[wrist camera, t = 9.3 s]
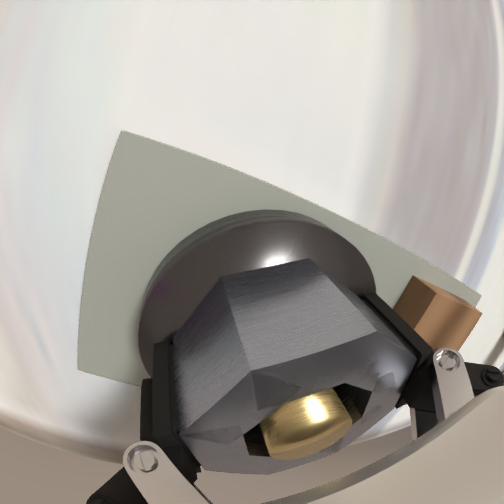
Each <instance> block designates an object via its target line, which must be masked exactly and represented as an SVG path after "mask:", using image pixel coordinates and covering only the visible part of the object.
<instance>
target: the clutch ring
mask: <svg viewBox="0 0 504 504" xmlns="http://www.w3.org/2000/svg"><path fill="white" fill-rule="evenodd" d="M173 359H174V379H175V394H176V407H177V418H178V430H179V435H180V437H181V438H182V440H183V441H184V443H185V444H186V445H187V447H188V448H189V450H190V451H191V452H192V454H193V455H194V456H195V458H196V459H197V460H198V462H199V463H200V464H201V465H202V467H203V468H204V469H205V470H209V471H218V472H228V473H243V474H272V473H276V472H279V471H283V470H286V469H290V468H293V467H297V466H300V465H303V464H306V463H309V462H311V461H315V460H317V459H320V458H323V457H325V456H328V455H331V454H333V453H336V452H338V451H340V450H341V449H342V448H344V447H345V446H347V445H348V444H350V443H351V442H352V441H354V440H355V439H356V438H358V437H359V436H361V435H362V434H363V433H364V432H366V431H367V430H368V429H370V428H371V427H372V426H373V425H375V424H376V423H377V422H378V421H380V420H381V419H382V418H383V417H384V416H386V415H387V414H388V413H389V412H390V411H391V410H393V409H394V407H395V405H396V403H397V401H398V399H399V397H400V395H401V393H402V391H403V389H404V387H405V385H406V382H407V380H408V378H409V376H410V374H411V371H412V369H413V367H414V365H415V362H416V360H417V358H416V357H415V356H414V355H413V354H412V353H411V352H410V351H409V349H408V348H407V347H406V346H405V345H404V344H403V343H402V342H401V341H400V340H399V339H398V338H397V337H396V336H395V334H394V333H393V332H392V331H391V330H390V329H389V328H388V327H387V326H386V325H385V324H384V323H383V322H382V321H381V320H380V319H379V318H378V317H377V316H376V314H375V313H374V312H373V311H372V310H371V309H370V308H369V307H368V306H367V305H366V304H365V303H364V302H363V301H362V300H361V299H360V298H359V297H358V296H357V295H356V294H355V293H353V292H352V291H351V290H350V289H348V288H347V287H346V286H345V285H343V284H342V283H341V282H339V281H338V280H337V279H336V278H334V277H333V276H332V275H331V274H329V273H328V272H327V271H325V270H324V269H323V268H321V267H320V266H319V265H318V264H316V263H315V262H314V261H312V260H311V259H310V258H307V259H302V260H297V261H293V262H288V263H283V264H278V265H274V266H269V267H264V268H259V269H254V270H249V271H244V272H240V273H235V274H230V275H225V276H221V277H220V278H219V280H218V281H217V282H216V283H215V285H214V286H213V287H212V288H211V290H210V291H209V292H208V294H207V295H206V296H205V297H204V299H203V300H202V301H201V302H200V304H199V305H198V306H197V308H196V309H195V310H194V311H193V313H192V314H191V315H190V316H189V318H188V319H187V320H186V322H185V323H184V324H183V325H182V327H181V328H180V329H179V331H178V332H177V333H176V334H175V336H174V337H173ZM332 387H333V389H334V390H335V392H336V394H337V395H338V397H339V399H340V400H341V402H342V404H343V405H344V407H345V409H346V410H347V412H348V414H349V415H350V417H351V419H352V426H351V428H350V429H349V431H348V432H347V433H346V434H345V435H344V436H343V437H342V438H340V439H339V440H338V441H337V442H335V443H334V444H332V445H330V446H329V447H327V448H325V449H323V450H321V451H319V452H317V453H314V454H311V455H309V456H306V457H302V458H298V459H292V460H277V459H274V458H272V457H271V456H270V454H269V451H268V449H267V446H266V443H265V440H264V437H263V434H262V431H261V428H260V425H259V423H260V422H261V421H262V420H264V419H265V418H266V417H267V416H269V415H270V414H271V413H272V412H274V411H275V410H276V409H277V408H279V407H280V406H281V405H282V404H284V403H287V402H290V401H293V400H296V399H300V398H303V397H306V396H309V395H312V394H315V393H318V392H321V391H324V390H327V389H329V388H332Z"/></svg>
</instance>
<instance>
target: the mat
mask: <svg viewBox="0 0 504 504" xmlns="http://www.w3.org/2000/svg"><path fill="white" fill-rule="evenodd" d="M263 209H269V210H285V211H291V212H296V213H300V214H303V215H306V216H309V217H312V218H314V219H316V220H318V221H319V222H321V223H323V224H325V225H327V226H328V227H329V228H331V229H332V230H334V231H335V232H336V233H338V234H339V235H341V236H342V237H344V238H345V239H346V240H347V241H349V242H350V243H351V244H352V245H354V246H355V247H356V248H357V249H358V250H359V252H360V253H361V254H362V255H363V256H364V258H365V259H366V261H367V263H368V264H369V266H370V268H371V271H372V274H373V276H374V280H375V285H376V294H377V295H378V296H379V297H380V298H381V299H382V300H383V301H384V302H386V303H387V304H388V305H389V306H390V307H391V308H392V309H393V308H394V306H395V304H396V303H397V301H398V300H399V298H400V296H401V295H402V293H403V291H404V289H405V288H406V286H407V284H408V283H409V281H410V279H411V277H412V275H414V276H416V277H418V278H420V279H422V280H424V281H427V282H429V283H431V284H433V285H435V286H437V287H439V288H441V289H443V290H445V291H448V292H450V293H452V294H454V295H456V296H458V297H460V298H462V299H464V300H466V301H467V302H468V303H470V304H471V305H472V306H474V307H476V305H477V303H478V301H479V300H480V298H481V295H480V294H479V293H477V292H476V291H474V290H473V289H471V288H469V287H468V286H466V285H465V284H463V283H462V282H460V281H458V280H457V279H455V278H453V277H452V276H450V275H449V274H447V273H445V272H444V271H442V270H440V269H439V268H437V267H435V266H433V265H432V264H430V263H428V262H427V261H425V260H423V259H421V258H420V257H418V256H416V255H414V254H413V253H411V252H409V251H407V250H405V249H404V248H402V247H400V246H398V245H396V244H394V243H392V242H391V241H389V240H387V239H385V238H383V237H381V236H379V235H377V234H375V233H374V232H372V231H370V230H368V229H366V228H364V227H362V226H360V225H358V224H356V223H354V222H352V221H350V220H348V219H346V218H344V217H342V216H340V215H338V214H336V213H333V212H331V211H329V210H327V209H325V208H323V207H321V206H319V205H317V204H314V203H312V202H310V201H308V200H306V199H303V198H301V197H299V196H297V195H295V194H292V193H290V192H288V191H285V190H283V189H281V188H279V187H276V186H274V185H272V184H269V183H267V182H264V181H262V180H260V179H257V178H255V177H252V176H250V175H248V174H245V173H243V172H240V171H238V170H235V169H233V168H230V167H227V166H225V165H222V164H220V163H217V162H214V161H212V160H209V159H206V158H204V157H201V156H198V155H196V154H193V153H190V152H187V151H184V150H181V149H179V148H176V147H173V146H170V145H167V144H164V143H161V142H158V141H155V140H152V139H149V138H146V137H143V136H139V135H136V134H133V133H130V132H127V131H121V132H120V135H119V138H118V141H117V143H116V146H115V149H114V152H113V155H112V158H111V161H110V164H109V167H108V171H107V174H106V177H105V181H104V184H103V188H102V192H101V195H100V199H99V203H98V207H97V211H96V215H95V220H94V224H93V229H92V233H91V238H90V244H89V249H88V255H87V261H86V267H85V273H84V281H83V288H82V297H81V307H80V319H79V334H78V370H81V371H84V372H87V373H90V374H94V375H97V376H101V377H105V378H108V379H112V380H116V381H120V382H124V383H128V384H133V385H137V386H142V380H143V379H147V378H151V377H150V376H149V374H148V373H147V371H146V369H145V367H144V365H143V362H142V360H141V356H140V352H139V347H138V330H139V322H140V315H141V309H142V303H143V297H144V294H145V291H146V288H147V285H148V282H149V280H150V278H151V277H152V275H153V273H154V271H155V269H156V268H157V266H158V265H159V264H160V262H161V261H162V260H163V259H164V257H165V256H166V255H167V254H168V253H169V252H170V251H171V250H172V249H173V248H174V247H175V246H176V245H177V244H178V243H179V242H180V241H182V240H183V239H184V238H186V237H187V236H188V235H190V234H191V233H193V232H194V231H196V230H198V229H199V228H201V227H203V226H205V225H207V224H209V223H210V222H213V221H216V220H218V219H221V218H223V217H226V216H229V215H233V214H237V213H241V212H245V211H253V210H263Z"/></svg>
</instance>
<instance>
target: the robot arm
mask: <svg viewBox="0 0 504 504" xmlns="http://www.w3.org/2000/svg"><path fill="white" fill-rule="evenodd" d="M360 299H361V300H362V301H363V302H364V303H365V304H366V305H367V306H368V307H369V308H370V309H371V310H372V311H373V312H374V313H375V314H376V316H377V317H378V318H379V319H380V320H381V321H382V322H383V323H384V324H385V325H386V326H387V327H388V328H389V329H390V330H391V331H392V332H393V333H394V334H395V336H396V337H397V338H398V339H399V340H400V341H401V342H402V343H403V344H404V345H405V346H406V347H407V348H408V349H409V351H410V352H411V353H412V354H413V355H414V356H415V357H416V358H417V360H416V362H415V365H414V367H413V369H412V371H411V374H410V376H409V378H408V380H407V382H406V385H405V387H404V389H403V391H402V393H401V395H400V397H399V399H398V401H397V403H396V405H395V407H396V409H397V408H399V407H401V406H403V405H404V404H406V403H407V404H408V406H409V407H410V416H411V429H412V442H411V443H409V444H407V445H406V446H404V447H402V448H401V449H399V450H397V451H395V452H394V453H392V454H390V455H388V456H386V457H384V458H382V459H381V460H379V461H377V462H375V463H373V464H371V465H369V466H367V467H365V468H363V469H360V470H358V471H356V472H354V473H351V474H349V475H347V476H345V477H342V478H340V479H337V480H335V481H332V482H330V483H327V484H324V485H322V486H319V487H316V488H313V489H311V490H308V491H305V492H302V493H298V494H295V495H292V496H288V497H285V498H281V499H278V500H274V501H270V502H266V503H262V504H504V374H502V372H501V371H500V370H499V369H498V368H496V367H494V366H490V365H482V364H475V363H468V362H464V360H463V358H462V356H461V355H460V353H459V352H457V351H456V350H454V349H451V348H440V349H439V350H437V351H436V352H435V353H434V352H433V351H432V349H433V348H432V347H431V346H430V345H429V344H428V343H427V342H426V341H425V340H424V339H423V338H422V337H421V336H420V335H419V334H418V333H417V332H416V331H415V330H414V329H413V328H412V327H411V326H410V325H409V324H408V323H406V322H405V321H404V320H403V319H402V318H401V317H400V316H399V315H398V314H397V313H396V312H395V311H394V310H393V309H392V308H391V307H390V306H389V305H388V304H387V303H386V302H384V301H383V300H382V299H381V298H380V297H379V296H378V295H377V294H376V293H375V292H370V293H367V294H364V295H361V296H360ZM123 465H124V467H123V468H122V469H121V470H120V471H119V472H117V474H115V475H114V476H113V477H112V478H111V479H110V480H109V481H107V482H106V483H105V484H104V485H103V486H102V487H101V488H99V489H98V490H97V491H96V492H95V493H94V494H92V495H91V496H90V497H89V499H88V500H87V503H86V504H213V503H212V502H211V501H210V500H209V499H208V498H207V497H206V496H205V495H204V494H203V493H202V492H201V491H200V489H199V488H198V487H196V485H195V484H194V482H195V481H196V480H197V474H196V473H198V472H201V469H200V466H201V464H200V463H199V462H198V460H197V459H196V458H195V456H194V455H193V454H192V452H191V451H190V450H189V448H188V447H187V445H186V444H185V443H184V441H183V440H182V438H181V437H180V435H179V430H178V418H177V407H176V394H175V379H174V359H173V344H171V345H170V343H169V341H166V342H160V343H155V344H154V351H153V378H147V379H143V380H142V386H141V415H140V441H138V442H136V443H133V444H132V445H130V446H129V447H128V448H127V449H126V451H125V452H124V455H123Z"/></svg>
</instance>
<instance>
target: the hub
mask: <svg viewBox="0 0 504 504" xmlns="http://www.w3.org/2000/svg"><path fill="white" fill-rule="evenodd" d="M307 258H310V259H311V260H312V261H314V262H315V263H316V264H318V265H319V266H320V267H321V268H323V269H324V270H325V271H327V272H328V273H329V274H331V275H332V276H333V277H334V278H336V279H337V280H338V281H339V282H341V283H342V284H343V285H345V286H346V287H347V288H348V289H350V290H351V291H352V292H353V293H355V294H356V295H357V296H358V297H359V298H360V296H361V295H364V294H367V293H370V292H375V293H376V285H375V280H374V276H373V274H372V271H371V268H370V266H369V264H368V263H367V261H366V259H365V258H364V256H363V255H362V254H361V253H360V252H359V250H358V249H357V248H356V247H355V246H354V245H352V244H351V243H350V242H349V241H347V240H346V239H345V238H344V237H342V236H341V235H339V234H338V233H336V232H335V231H334V230H332V229H331V228H329V227H328V226H327V225H325V224H323V223H321V222H319V221H318V220H316V219H314V218H312V217H309V216H306V215H303V214H300V213H296V212H291V211H285V210H269V209H263V210H253V211H245V212H241V213H237V214H233V215H229V216H226V217H223V218H221V219H218V220H216V221H213V222H210V223H209V224H207V225H205V226H203V227H201V228H199V229H198V230H196V231H194V232H193V233H191V234H190V235H188V236H187V237H186V238H184V239H183V240H182V241H180V242H179V243H178V244H177V245H176V246H175V247H174V248H173V249H172V250H171V251H170V252H169V253H168V254H167V255H166V256H165V257H164V259H163V260H162V261H161V262H160V264H159V265H158V266H157V268H156V269H155V271H154V273H153V275H152V277H151V278H150V280H149V282H148V285H147V288H146V291H145V294H144V297H143V303H142V309H141V315H140V322H139V330H138V347H139V352H140V356H141V360H142V362H143V365H144V367H145V369H146V371H147V373H148V374H149V376H150V377H151V378H153V351H154V344H155V343H160V342H166V341H169V343H170V345H171V344H173V337H174V336H175V334H176V333H177V332H178V331H179V329H180V328H181V327H182V325H183V324H184V323H185V322H186V320H187V319H188V318H189V316H190V315H191V314H192V313H193V311H194V310H195V309H196V308H197V306H198V305H199V304H200V302H201V301H202V300H203V299H204V297H205V296H206V295H207V294H208V292H209V291H210V290H211V288H212V287H213V286H214V285H215V283H216V282H217V281H218V280H219V278H220V277H221V276H225V275H230V274H235V273H240V272H244V271H249V270H254V269H259V268H264V267H269V266H274V265H278V264H283V263H288V262H293V261H297V260H302V259H307ZM259 425H260V428H261V431H262V434H263V437H264V440H265V443H266V446H267V449H268V451H269V454H270V456H271V457H272V458H274V459H277V460H292V459H298V458H302V457H306V456H309V455H311V454H314V453H317V452H319V451H321V450H323V449H325V448H327V447H329V446H330V445H332V444H334V443H335V442H337V441H338V440H339V439H340V438H342V437H343V436H344V435H345V434H346V433H347V432H348V431H349V429H350V428H351V426H352V419H351V417H350V415H349V414H348V412H347V410H346V409H345V407H344V405H343V404H342V402H341V400H340V399H339V397H338V395H337V394H336V392H335V390H334V389H333V387H332V388H329V389H327V390H324V391H321V392H318V393H315V394H312V395H309V396H306V397H303V398H300V399H296V400H293V401H290V402H287V403H284V404H282V405H281V406H280V407H279V408H277V409H276V410H275V411H274V412H272V413H271V414H270V415H269V416H267V417H266V418H265V419H264V420H262V421H261V422H260V423H259Z"/></svg>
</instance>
